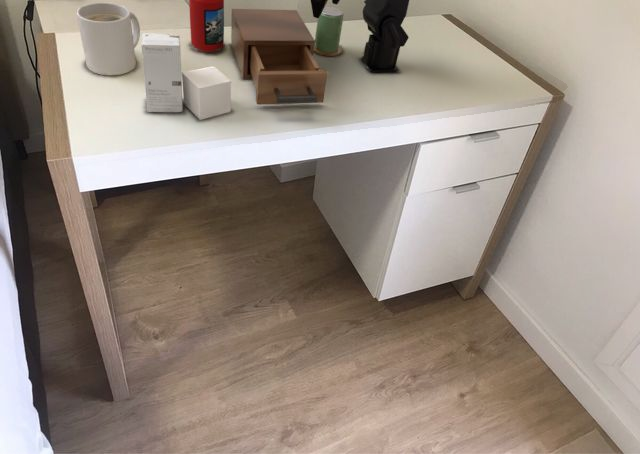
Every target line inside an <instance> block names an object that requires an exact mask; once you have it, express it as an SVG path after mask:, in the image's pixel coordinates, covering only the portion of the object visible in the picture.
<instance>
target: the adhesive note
mask: <svg viewBox="0 0 640 454" xmlns="http://www.w3.org/2000/svg"><path fill="white" fill-rule="evenodd" d="M181 81H182V98H183V104H184V105H185V107H187V108H188V110H190V111H191V112H192V114H194V115H195V117H197V118H198V120H199V121H201V120H205V119H206V120H207V119H209V118H212V117H217V116H221V115H224V114H228V113H231V112H232V111H231V110H232V109H231V107H232V106H231V105H232V104H231V102H232V101H231V100H232V99H231V96H232V81H231V79H229V78H228V77H227V76H226V75H225V74H224V73H222V72H221V71H220V70H219V69H217V67H215V66H214V65H211V66H206V67H200V68H197V69H192V70H187V71H181Z"/></svg>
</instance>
